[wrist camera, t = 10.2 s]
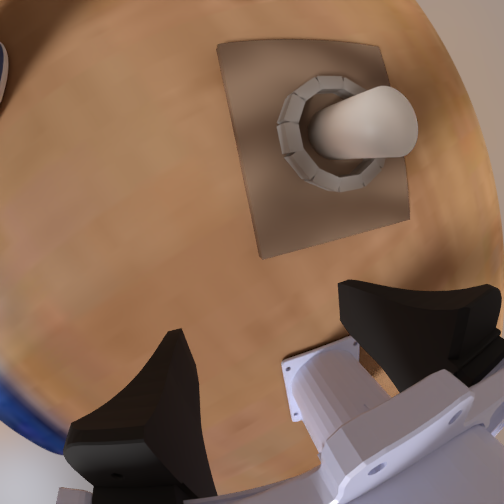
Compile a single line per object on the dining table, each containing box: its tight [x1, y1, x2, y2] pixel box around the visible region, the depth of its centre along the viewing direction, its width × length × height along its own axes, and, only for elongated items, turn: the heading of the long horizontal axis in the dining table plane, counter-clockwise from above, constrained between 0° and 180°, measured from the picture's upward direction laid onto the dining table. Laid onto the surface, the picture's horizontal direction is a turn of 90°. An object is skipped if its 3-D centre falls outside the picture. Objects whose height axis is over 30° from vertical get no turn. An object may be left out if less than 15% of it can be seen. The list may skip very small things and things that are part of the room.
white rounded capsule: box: [308, 86, 418, 160], centre depth 16 cm, size 4×4×7 cm
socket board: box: [216, 39, 410, 260], centre depth 19 cm, size 16×14×2 cm
